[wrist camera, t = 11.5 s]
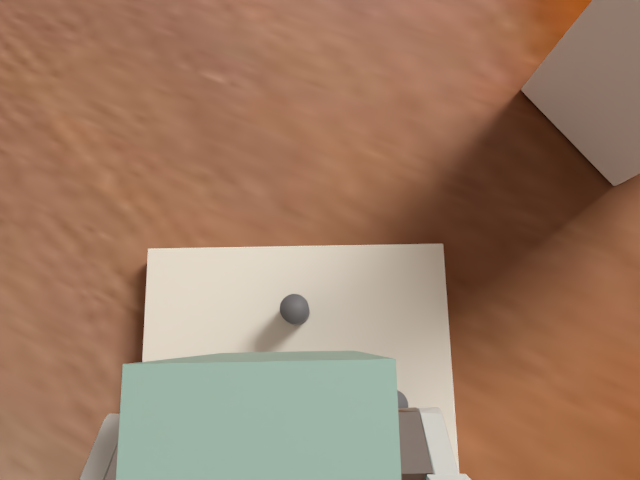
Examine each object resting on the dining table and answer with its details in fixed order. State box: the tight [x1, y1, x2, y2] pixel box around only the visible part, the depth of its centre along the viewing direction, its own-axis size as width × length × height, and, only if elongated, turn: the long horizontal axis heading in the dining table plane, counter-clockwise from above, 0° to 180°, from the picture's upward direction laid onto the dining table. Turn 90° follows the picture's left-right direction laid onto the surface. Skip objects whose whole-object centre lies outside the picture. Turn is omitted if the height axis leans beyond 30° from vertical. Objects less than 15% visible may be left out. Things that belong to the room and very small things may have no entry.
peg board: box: [142, 244, 459, 472], centre depth 22 cm, size 14×14×4 cm
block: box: [116, 350, 401, 480], centre depth 12 cm, size 4×4×9 cm
